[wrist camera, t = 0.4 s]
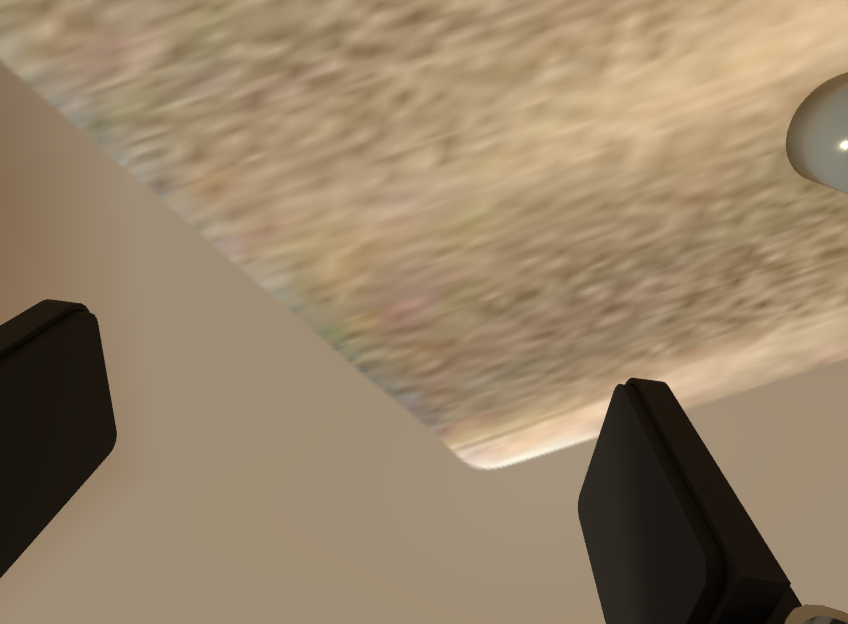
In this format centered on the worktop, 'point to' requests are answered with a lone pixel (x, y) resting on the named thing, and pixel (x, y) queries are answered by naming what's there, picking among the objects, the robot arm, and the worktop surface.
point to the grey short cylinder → (822, 135)
